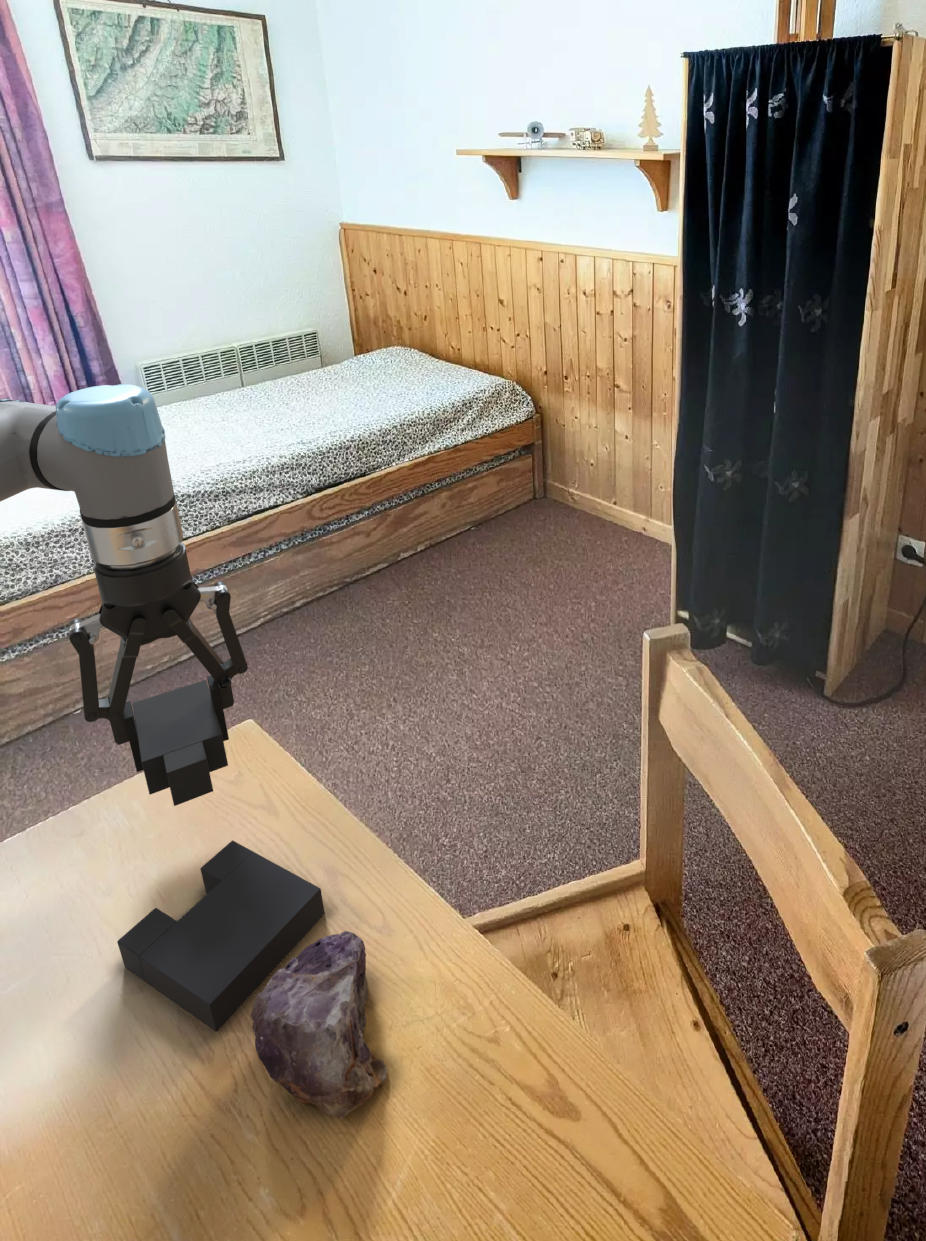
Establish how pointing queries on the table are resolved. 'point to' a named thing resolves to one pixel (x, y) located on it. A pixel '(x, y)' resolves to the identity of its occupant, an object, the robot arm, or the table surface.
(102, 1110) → the table surface
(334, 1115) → the rock
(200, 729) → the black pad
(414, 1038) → the table surface
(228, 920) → the dock pad
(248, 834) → the table surface
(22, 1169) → the table surface
